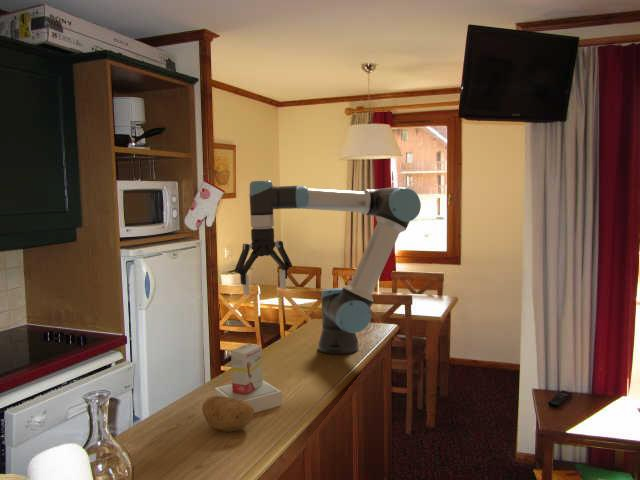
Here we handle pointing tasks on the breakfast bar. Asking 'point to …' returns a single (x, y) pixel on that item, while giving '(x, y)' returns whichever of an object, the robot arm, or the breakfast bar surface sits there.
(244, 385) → the ink box
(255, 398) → the block
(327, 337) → the robot arm
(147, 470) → the breakfast bar surface
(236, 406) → the potato
